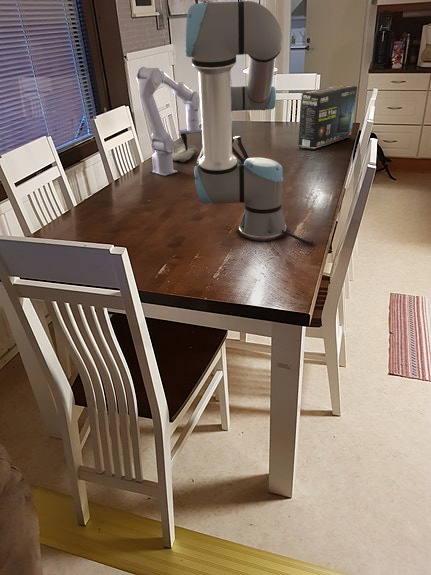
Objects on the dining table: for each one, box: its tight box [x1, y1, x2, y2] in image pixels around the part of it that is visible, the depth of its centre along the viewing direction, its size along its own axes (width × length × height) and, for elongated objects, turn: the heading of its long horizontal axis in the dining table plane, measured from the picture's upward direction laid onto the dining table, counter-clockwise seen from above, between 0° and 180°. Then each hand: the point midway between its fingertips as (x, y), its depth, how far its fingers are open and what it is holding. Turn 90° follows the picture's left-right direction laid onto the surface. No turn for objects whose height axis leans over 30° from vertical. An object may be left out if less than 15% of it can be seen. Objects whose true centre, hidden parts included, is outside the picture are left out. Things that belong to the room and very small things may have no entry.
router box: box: [297, 84, 358, 151], centre depth 238 cm, size 36×11×27 cm, turn 134°
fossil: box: [172, 142, 199, 163], centre depth 229 cm, size 18×11×15 cm
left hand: (194, 149), depth 218 cm, fingers open, 7 cm apart
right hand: (223, 181), depth 178 cm, fingers open, 13 cm apart
